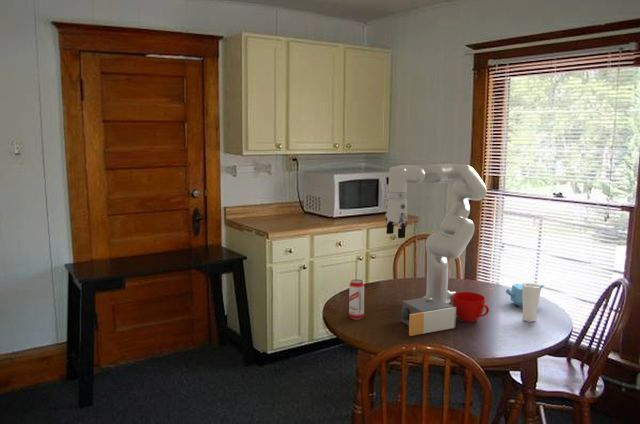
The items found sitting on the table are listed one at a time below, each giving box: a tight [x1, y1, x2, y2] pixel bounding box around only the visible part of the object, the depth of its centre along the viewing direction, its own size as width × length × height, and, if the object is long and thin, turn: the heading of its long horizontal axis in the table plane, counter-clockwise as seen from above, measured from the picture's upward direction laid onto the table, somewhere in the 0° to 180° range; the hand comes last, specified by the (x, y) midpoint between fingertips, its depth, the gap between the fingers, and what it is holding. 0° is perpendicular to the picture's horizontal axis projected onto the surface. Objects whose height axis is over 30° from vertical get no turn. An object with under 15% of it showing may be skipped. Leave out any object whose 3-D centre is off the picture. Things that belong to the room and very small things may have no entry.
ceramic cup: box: [452, 291, 490, 323], centre depth 225 cm, size 13×17×10 cm
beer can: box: [348, 278, 365, 321], centre depth 228 cm, size 6×6×16 cm
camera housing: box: [400, 296, 453, 327], centre depth 221 cm, size 16×14×10 cm
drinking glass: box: [522, 282, 541, 323], centre depth 226 cm, size 7×7×15 cm
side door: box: [408, 307, 457, 337], centre depth 213 cm, size 22×1×8 cm, turn 114°
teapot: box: [505, 282, 545, 309], centre depth 246 cm, size 18×14×10 cm
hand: (395, 235), depth 231 cm, fingers open, 9 cm apart
